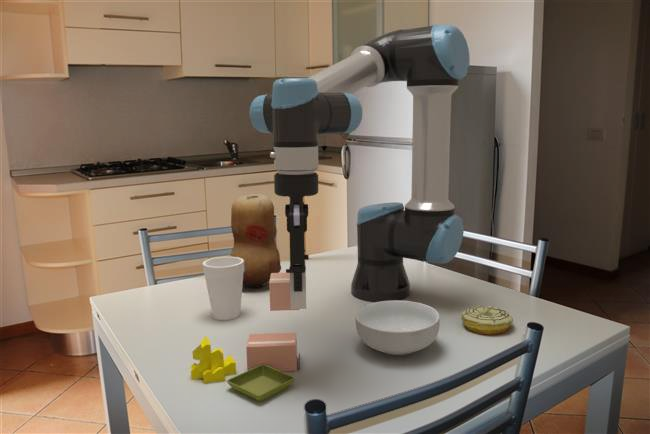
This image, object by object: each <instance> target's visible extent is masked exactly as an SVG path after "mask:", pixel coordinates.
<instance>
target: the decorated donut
mask: <svg viewBox="0 0 650 434" xmlns="http://www.w3.org/2000/svg"><path fill="white" fill-rule="evenodd" d="M461 321H462V324H463V325H464V327H466V329H467V330H469V331H471V332H473V333H475V334H481V335H491V336H493V335H499V334H504V333H506V332H507V331H508V330H509V328H510V327H511V325H512V324H513V322H514V318H513V317H512V314H510V313H509V312H508V311H506V310H504V309H503V308H499V307H496V306H495V305H494V306H492V305H479V306H478V305H477V306H473V307H472V306H471V307H469V308H466V309H465V310H463V311H462V312H461Z"/></svg>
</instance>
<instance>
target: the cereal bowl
mask: <svg viewBox="0 0 650 434" xmlns="http://www.w3.org/2000/svg"><path fill="white" fill-rule="evenodd" d="M354 316H355V317H354V319H355V320H354V322H355V328H356V332H357V333H356V334H357V335H358V337H359V338H360V340H361V341H362V342H363V343H364V344H365V345H366V346H368V347H370V348H372V349H374V350H376V351H379V352H382V353H384V354H387V355H391V356H406V355H410V354H413V353H415V352H417V351H421V350H423V349H426V348H427V347H428V346H430V345H431V344H432V343H433V342H434V340H435V339H436V337H438V335H439V331H440V324H441V323H440V314H439V312H438V311H437V310H436V309H435V308H433V306H429V305H427V304H424V303H421V302H418V301H417V302H416V301H410V300H401V299H399V300H393V301H374V302H372V303H368V304H366V305H364V306H362V307H359V309H357V311H356V312H355V315H354Z"/></svg>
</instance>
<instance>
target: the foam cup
mask: <svg viewBox="0 0 650 434" xmlns="http://www.w3.org/2000/svg"><path fill="white" fill-rule="evenodd" d="M202 270H203V271H202V272H203V275H204V278H205V282H206V284H205V285H206V288H207V295H208V299H209V303H210V307H211V313H212V314H211V315H212V318H213V319H215V320H218V321H229V320H234V319H237V318H239V317H240V315H241V310H242V309H241V308H242V297H243V296H242V295H243V285H244V284H243V273H244V260H243V259H242V258H239V257H230V256H218V257H217V256H216V257H211V258H209V259H206V260H204V261H203V262H202Z"/></svg>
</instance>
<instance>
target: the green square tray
mask: <svg viewBox="0 0 650 434" xmlns="http://www.w3.org/2000/svg"><path fill="white" fill-rule="evenodd" d="M295 379H296V377H295V376H293V375H290V374H288V373H286V372H285V371H279V370H277V369H274V368H272V367H270V366H267V365H265V364H262V365H259V366H257V367H255V368H253V369H250V370H246V371H244V372H242V373H239V374H237V375H235V376H233V377H230V378H229V379H226V383H227V384H228V385H229V386H230V387H231V388H232V389H234V390H235V391H237V392H239V393H241V394H243V395H246V396H248V397H249V398H252V399H253V400H255V401H256V402H257V401H258V402H262V401H264V400H265V399H267V398H270V397H272V396H273V395H276V394H277V393H280V392H282V391H284V390H286V389H287V388H289V386H290V385H292V383H293V382H294V381H295Z"/></svg>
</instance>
